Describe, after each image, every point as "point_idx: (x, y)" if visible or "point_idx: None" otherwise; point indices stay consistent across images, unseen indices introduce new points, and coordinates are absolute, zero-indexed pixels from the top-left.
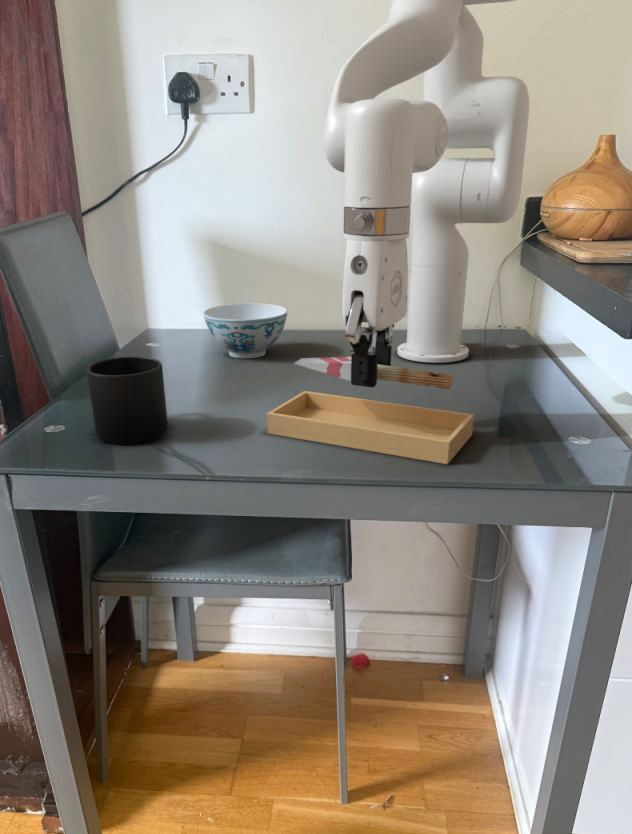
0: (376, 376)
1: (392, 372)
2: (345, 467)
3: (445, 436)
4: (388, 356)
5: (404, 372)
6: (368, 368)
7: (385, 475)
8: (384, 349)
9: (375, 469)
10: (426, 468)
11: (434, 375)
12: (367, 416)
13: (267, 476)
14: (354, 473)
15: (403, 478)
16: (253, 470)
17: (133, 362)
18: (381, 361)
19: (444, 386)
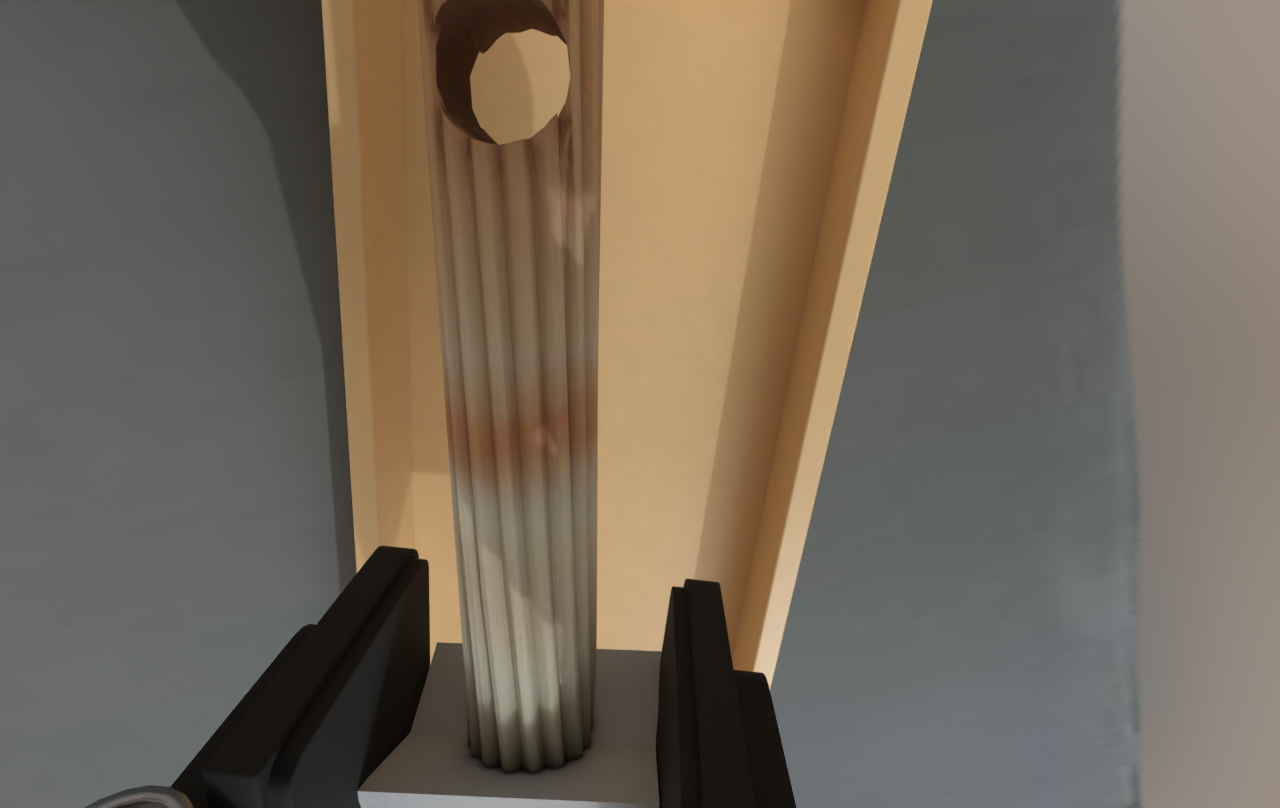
0: (698, 627)
1: (582, 533)
2: (1006, 445)
3: (534, 52)
4: (335, 684)
5: (571, 425)
6: (751, 745)
7: (1077, 258)
8: (303, 790)
9: (1011, 319)
10: (960, 76)
11: (445, 93)
12: (410, 516)
13: (1132, 670)
14: (1069, 393)
15: (1106, 164)
16: (1081, 723)
17: None
18: (375, 694)
19: None
